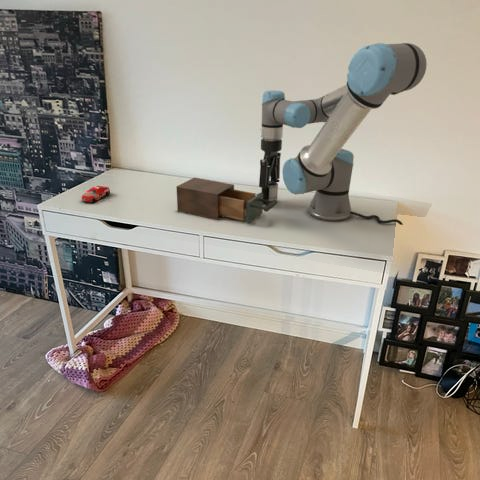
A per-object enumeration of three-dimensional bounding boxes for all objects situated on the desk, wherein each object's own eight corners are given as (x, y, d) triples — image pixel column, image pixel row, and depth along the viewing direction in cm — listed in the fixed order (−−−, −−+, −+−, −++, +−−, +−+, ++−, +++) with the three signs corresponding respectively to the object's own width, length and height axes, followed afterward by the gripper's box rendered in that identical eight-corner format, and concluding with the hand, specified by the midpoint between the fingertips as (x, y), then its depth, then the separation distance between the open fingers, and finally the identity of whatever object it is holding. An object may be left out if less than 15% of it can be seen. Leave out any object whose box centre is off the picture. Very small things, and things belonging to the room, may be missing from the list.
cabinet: (233, 209, 180) (234, 184, 175) (217, 220, 171) (217, 194, 166) (195, 201, 186) (194, 177, 181) (177, 211, 177) (176, 186, 172)
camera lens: (275, 199, 188) (276, 179, 184) (278, 204, 183) (279, 184, 178) (259, 200, 187) (260, 179, 183) (262, 205, 182) (263, 184, 178)
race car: (90, 204, 181) (88, 194, 178) (79, 202, 183) (77, 192, 180) (113, 194, 190) (111, 184, 188) (102, 192, 192) (100, 182, 190)
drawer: (278, 216, 172) (279, 196, 168) (265, 227, 164) (266, 205, 160) (224, 205, 180) (224, 186, 176) (209, 215, 172) (209, 194, 168)
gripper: (272, 132, 181) (269, 193, 193) (250, 142, 167) (248, 207, 179) (291, 134, 178) (287, 196, 191) (270, 145, 164) (267, 211, 176)
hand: (268, 201), depth 185 cm, fingers closed on camera lens, 6 cm apart
